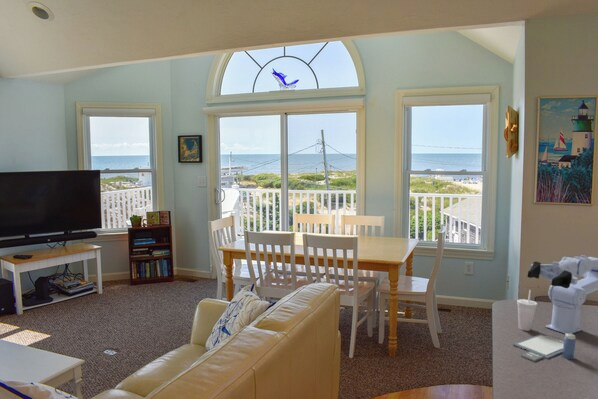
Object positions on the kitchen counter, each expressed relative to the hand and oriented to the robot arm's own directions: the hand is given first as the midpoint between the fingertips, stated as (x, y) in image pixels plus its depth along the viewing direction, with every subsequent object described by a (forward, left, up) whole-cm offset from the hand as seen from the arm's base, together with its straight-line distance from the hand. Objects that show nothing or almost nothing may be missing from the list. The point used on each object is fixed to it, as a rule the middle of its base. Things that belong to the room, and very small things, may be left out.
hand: (540, 278), depth 146 cm
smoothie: (-8, -8, -21) cm, 24 cm away
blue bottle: (+2, +12, -21) cm, 24 cm away
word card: (+12, +6, -21) cm, 25 cm away
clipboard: (+1, +4, -21) cm, 21 cm away
